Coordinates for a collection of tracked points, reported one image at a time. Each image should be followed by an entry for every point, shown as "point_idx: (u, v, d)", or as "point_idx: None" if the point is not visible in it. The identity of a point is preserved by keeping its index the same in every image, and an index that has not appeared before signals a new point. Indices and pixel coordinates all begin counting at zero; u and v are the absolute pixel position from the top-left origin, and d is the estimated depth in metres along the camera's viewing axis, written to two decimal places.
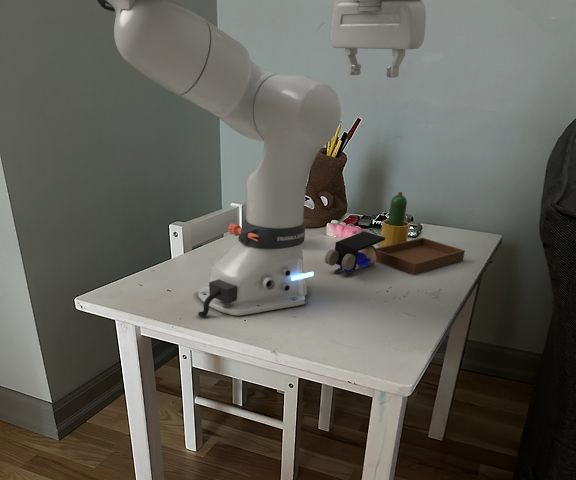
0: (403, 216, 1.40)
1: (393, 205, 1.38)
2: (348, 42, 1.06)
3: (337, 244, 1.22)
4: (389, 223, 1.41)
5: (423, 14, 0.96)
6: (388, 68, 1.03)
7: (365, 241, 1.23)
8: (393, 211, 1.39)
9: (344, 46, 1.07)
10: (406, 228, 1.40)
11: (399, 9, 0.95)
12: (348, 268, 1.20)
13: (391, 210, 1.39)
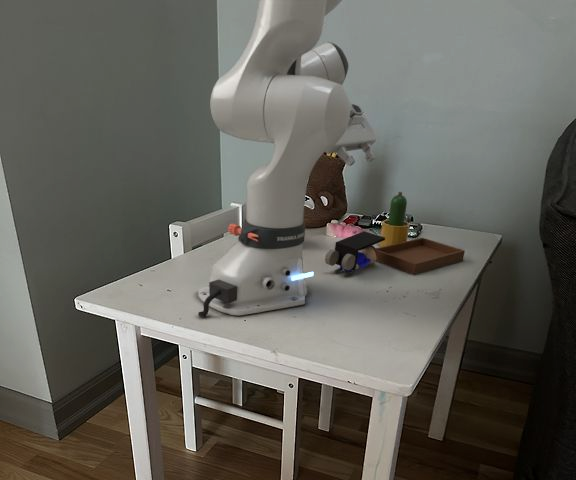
0: (403, 216, 1.40)
1: (393, 205, 1.38)
2: (344, 140, 1.37)
3: (337, 244, 1.22)
4: (389, 223, 1.41)
5: None
6: (370, 153, 1.44)
7: (366, 241, 1.23)
8: (393, 211, 1.39)
9: (343, 143, 1.37)
10: (406, 228, 1.40)
11: (361, 120, 1.45)
12: (348, 268, 1.20)
13: (391, 210, 1.39)
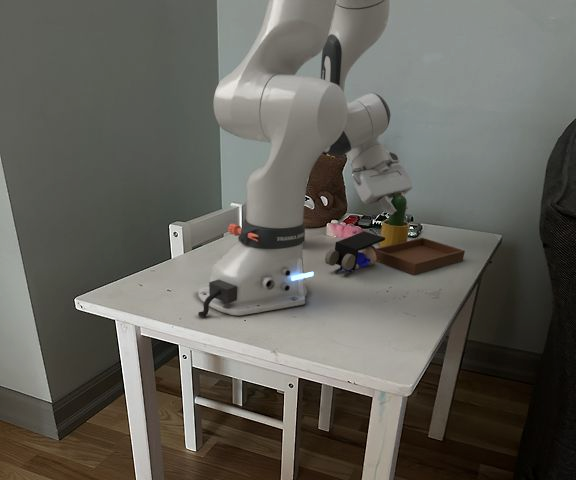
0: (403, 216, 1.40)
1: None
2: (383, 191, 1.35)
3: (337, 244, 1.22)
4: (389, 223, 1.41)
5: None
6: None
7: (366, 241, 1.23)
8: None
9: (381, 194, 1.35)
10: (406, 228, 1.40)
11: (398, 168, 1.43)
12: (348, 268, 1.20)
13: None
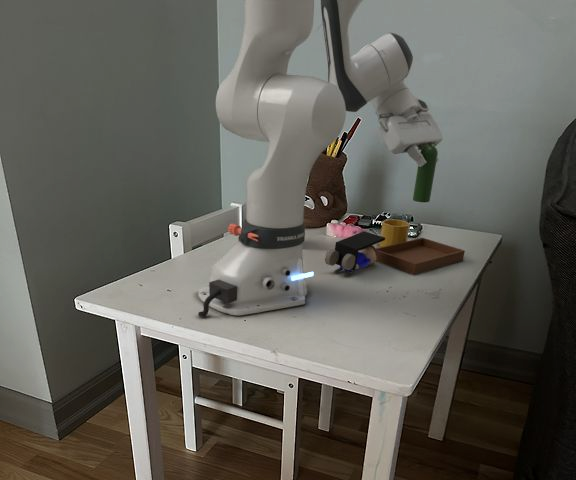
0: (433, 169, 1.27)
1: None
2: (412, 139, 1.23)
3: (337, 244, 1.22)
4: (418, 177, 1.29)
5: None
6: None
7: (366, 241, 1.23)
8: None
9: (411, 142, 1.22)
10: (406, 228, 1.40)
11: (427, 117, 1.31)
12: (348, 268, 1.20)
13: None
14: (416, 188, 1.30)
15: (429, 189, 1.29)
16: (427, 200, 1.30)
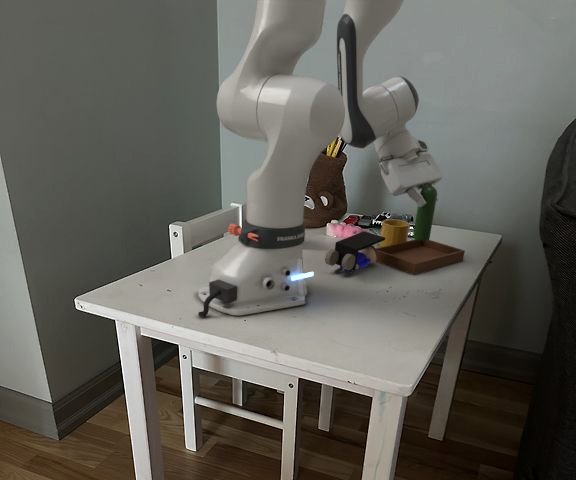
0: (433, 208, 1.30)
1: None
2: (412, 181, 1.26)
3: (337, 244, 1.22)
4: (418, 216, 1.31)
5: None
6: None
7: (365, 241, 1.23)
8: None
9: (411, 184, 1.25)
10: (406, 228, 1.40)
11: (427, 157, 1.34)
12: (348, 268, 1.20)
13: None
14: (416, 227, 1.33)
15: (429, 228, 1.32)
16: (427, 238, 1.33)
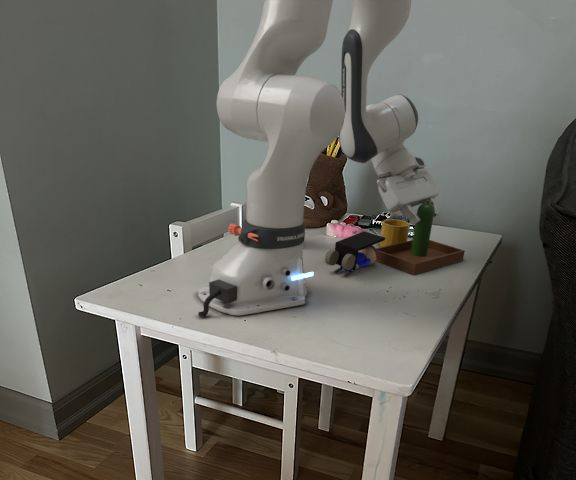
0: (430, 225, 1.32)
1: (420, 214, 1.31)
2: (410, 198, 1.28)
3: (337, 244, 1.22)
4: (415, 233, 1.34)
5: None
6: (434, 209, 1.35)
7: (366, 241, 1.23)
8: None
9: (408, 201, 1.27)
10: (406, 228, 1.40)
11: (424, 173, 1.36)
12: (348, 268, 1.20)
13: None
14: (414, 243, 1.35)
15: (426, 244, 1.34)
16: (424, 254, 1.35)
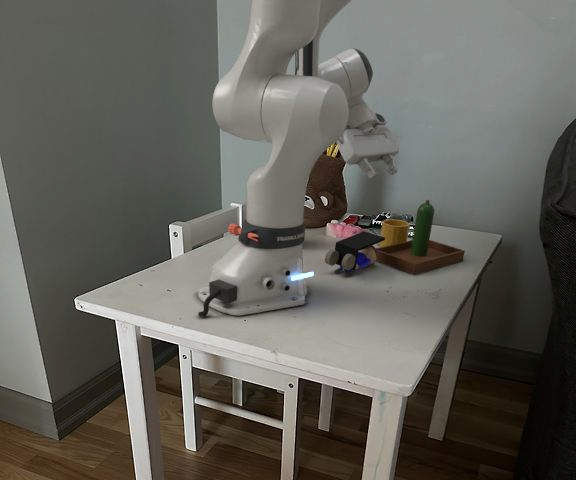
0: (430, 225, 1.32)
1: (420, 214, 1.31)
2: (367, 151, 1.30)
3: (337, 244, 1.22)
4: (415, 233, 1.34)
5: None
6: (393, 166, 1.37)
7: (365, 241, 1.23)
8: (419, 220, 1.31)
9: (365, 154, 1.29)
10: (406, 228, 1.40)
11: (384, 130, 1.38)
12: (348, 268, 1.20)
13: (417, 219, 1.32)
14: (414, 243, 1.35)
15: (426, 244, 1.34)
16: (424, 254, 1.35)
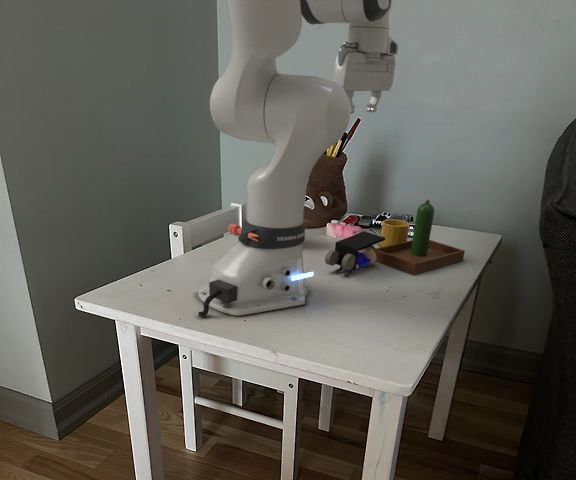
0: (430, 225, 1.32)
1: (420, 214, 1.31)
2: (357, 86, 1.22)
3: (337, 244, 1.22)
4: (415, 233, 1.34)
5: None
6: (374, 105, 1.31)
7: (366, 241, 1.23)
8: (419, 220, 1.31)
9: (354, 89, 1.22)
10: (406, 228, 1.40)
11: (389, 61, 1.27)
12: (348, 268, 1.20)
13: (417, 219, 1.32)
14: (414, 243, 1.35)
15: (426, 244, 1.34)
16: (424, 254, 1.35)
